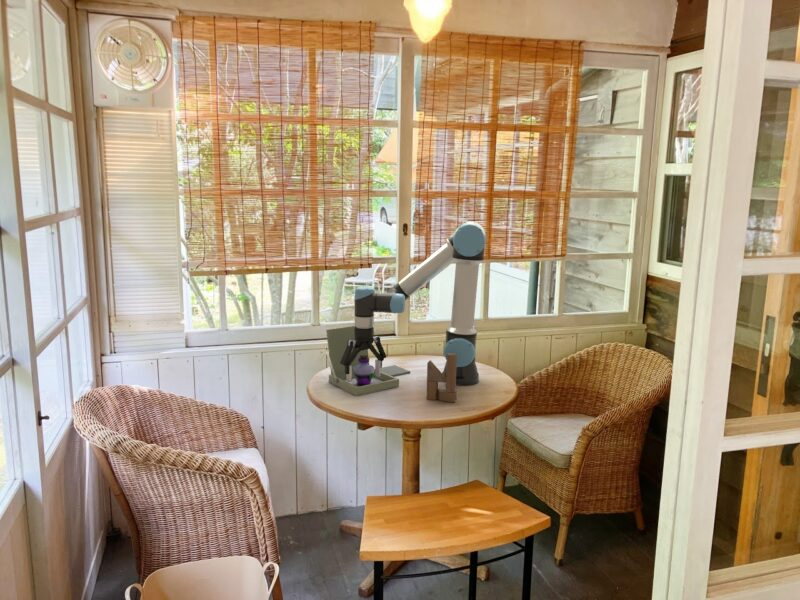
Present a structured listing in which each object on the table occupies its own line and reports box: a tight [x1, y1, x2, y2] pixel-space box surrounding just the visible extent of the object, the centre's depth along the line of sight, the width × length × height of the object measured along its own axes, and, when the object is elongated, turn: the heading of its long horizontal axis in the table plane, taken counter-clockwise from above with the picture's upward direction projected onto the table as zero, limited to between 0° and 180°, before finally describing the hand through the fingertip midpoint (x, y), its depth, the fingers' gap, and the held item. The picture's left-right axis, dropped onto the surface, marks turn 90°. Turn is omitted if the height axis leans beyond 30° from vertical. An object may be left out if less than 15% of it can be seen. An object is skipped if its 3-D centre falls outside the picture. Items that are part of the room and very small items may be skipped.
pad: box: [381, 364, 411, 377], centre depth 265 cm, size 11×11×1 cm
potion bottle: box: [353, 354, 375, 387], centre depth 247 cm, size 9×9×12 cm
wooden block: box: [426, 353, 458, 403], centre depth 230 cm, size 4×11×18 cm, turn 71°
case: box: [324, 325, 400, 397], centre depth 247 cm, size 24×21×21 cm
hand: (363, 378), depth 248 cm, fingers open, 13 cm apart
